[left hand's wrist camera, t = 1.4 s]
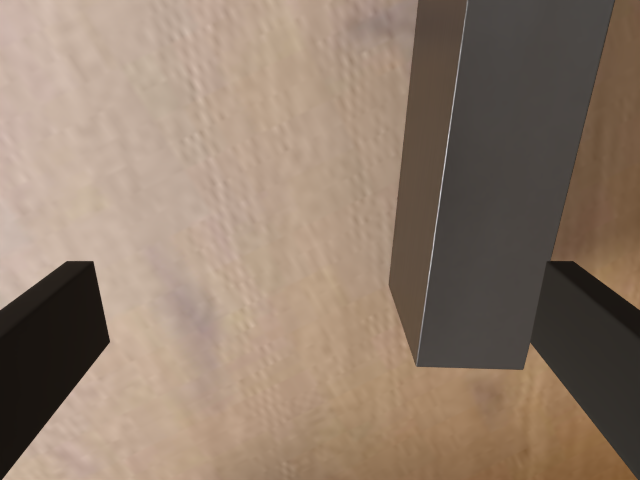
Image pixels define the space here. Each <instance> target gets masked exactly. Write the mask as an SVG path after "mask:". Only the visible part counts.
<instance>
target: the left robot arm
mask: <svg viewBox="0 0 640 480" xmlns="http://www.w3.org/2000/svg"><path fill="white" fill-rule="evenodd" d="M109 343H110V339H109V335H108V330H107V325H106V320H105V315H104V310H103V306H102V301H101V296H100V291H99V286H98V282H97V277H96V272H95V267H94V262H93V261H67V262H65V263H64V264H62V265H61V266H60V267H58V268H57V269H56V270H54V271H53V272H52V273H50V274H49V275H48V276H46V277H45V278H43V279H42V280H41V281H39V282H38V283H37V284H35V285H34V286H33V287H31V288H30V289H29V290H27V291H26V292H24V293H23V294H22V295H20V296H19V297H18V298H16V299H15V300H14V301H12V302H11V303H10V304H8V305H7V306H5V307H4V308H3V309H1V310H0V480H2V479H3V478H4V476H5V475H6V474H7V473H8V471H9V470H10V469H11V468H12V466H13V465H14V464H15V462H16V461H17V460H18V459H19V457H20V456H21V455H22V453H23V452H24V451H25V450H26V448H27V447H28V446H29V445H30V443H31V442H32V441H33V439H34V438H35V437H36V436H37V434H38V433H39V432H40V431H41V429H42V428H43V427H44V425H45V424H46V423H47V422H48V420H49V419H50V418H51V417H52V415H53V414H54V413H55V411H56V410H57V409H58V408H59V406H60V405H61V404H62V403H63V401H64V400H65V399H66V397H67V396H68V395H69V394H70V392H71V391H72V390H73V389H74V387H75V386H76V385H77V383H78V382H79V381H80V380H81V378H82V377H83V376H84V375H85V373H86V372H87V371H88V369H89V368H90V367H91V366H92V364H93V363H94V362H95V361H96V359H97V358H98V357H99V355H100V354H101V353H102V352H103V350H104V349H105V348H106V346H107V345H108V344H109ZM530 343H531V344H532V345H533V346H534V348H535V349H536V350H537V352H538V353H539V354H540V355H541V357H542V358H543V359H544V361H545V362H546V363H547V364H548V366H549V367H550V368H551V369H552V371H553V372H554V373H555V375H556V376H557V377H558V378H559V380H560V381H561V382H562V383H563V385H564V386H565V387H566V389H567V390H568V391H569V392H570V394H571V395H572V396H573V397H574V399H575V400H576V401H577V403H578V404H579V405H580V406H581V408H582V409H583V410H584V411H585V413H586V414H587V415H588V417H589V418H590V419H591V420H592V422H593V423H594V424H595V425H596V427H597V428H598V429H599V431H600V432H601V433H602V434H603V436H604V437H605V438H606V439H607V441H608V442H609V443H610V445H611V446H612V447H613V448H614V450H615V451H616V452H617V453H618V455H619V456H620V457H621V459H622V460H623V461H624V462H625V464H626V465H627V466H628V468H629V469H630V470H631V471H632V473H633V474H634V475H635V476H636V478H637V479H638V480H640V310H639V309H637V308H636V307H635V306H633V305H632V304H630V303H629V302H628V301H626V300H625V299H624V298H622V297H621V296H620V295H618V294H617V293H616V292H614V291H613V290H611V289H610V288H609V287H607V286H606V285H605V284H603V283H602V282H601V281H599V280H598V279H597V278H595V277H594V276H592V275H591V274H590V273H588V272H587V271H586V270H584V269H583V268H582V267H580V266H579V265H578V264H576V263H575V262H573V261H547V262H546V267H545V272H544V277H543V282H542V286H541V291H540V296H539V301H538V306H537V311H536V315H535V320H534V325H533V330H532V335H531V339H530Z"/></svg>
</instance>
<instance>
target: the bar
mask: <svg viewBox="0 0 640 480" xmlns="http://www.w3.org/2000/svg"><path fill="white" fill-rule="evenodd" d="M614 2H615V0H418V10H417V19H416V29H415V38H414V48H413V57H412V67H411V76H410V86H409V96H408V105H407V115H406V124H405V134H404V143H403V153H402V162H401V172H400V181H399V191H398V201H397V210H396V220H395V229H394V239H393V248H392V258H391V267H390V277H389V287H390V290H391V293H392V296H393V299H394V302H395V305H396V308H397V311H398V314H399V317H400V320H401V323H402V326H403V329H404V332H405V335H406V338H407V341H408V344H409V347H410V350H411V353H412V356H413V359H414V362H415V365H416V366H417V367H445V368H479V369H513V370H523V369H524V365H525V361H526V357H527V353H528V349H529V345H530V339H531V335H532V330H533V325H534V320H535V315H536V311H537V306H538V301H539V296H540V291H541V286H542V282H543V277H544V272H545V267H546V262H547V261H550V260H551V256H552V252H553V248H554V244H555V240H556V236H557V232H558V228H559V224H560V220H561V216H562V212H563V208H564V204H565V200H566V196H567V192H568V188H569V184H570V179H571V175H572V171H573V167H574V163H575V159H576V155H577V151H578V147H579V143H580V139H581V135H582V131H583V127H584V123H585V119H586V115H587V111H588V107H589V103H590V99H591V95H592V91H593V87H594V83H595V79H596V75H597V71H598V67H599V63H600V58H601V54H602V50H603V46H604V42H605V38H606V34H607V30H608V26H609V22H610V18H611V14H612V10H613V6H614Z"/></svg>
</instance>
